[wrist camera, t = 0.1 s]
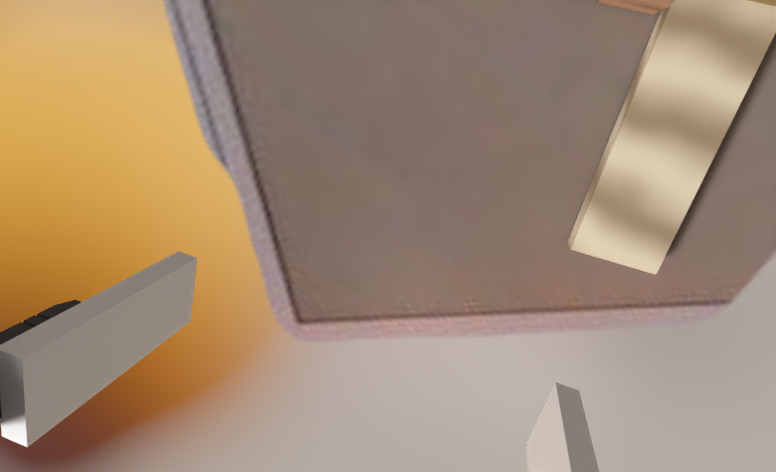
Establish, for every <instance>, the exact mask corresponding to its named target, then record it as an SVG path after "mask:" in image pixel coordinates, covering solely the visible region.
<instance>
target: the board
mask: <svg viewBox="0 0 776 472" xmlns="http://www.w3.org/2000/svg"><path fill="white" fill-rule="evenodd" d="M775 33H776V7H775V6H771V5H766V4H761V3H756V2H752V1H747V0H673V1H672V4H671V6H670V7H668V8H666V9H664V10H662V11H661V13H660V15H659V18H658V20H657V23H656V25H655V28H654V30H653V32H652V35H651V37H650V40H649V42H648V45H647V47H646V50H645V52H644V55H643V57H642V60H641V62H640V65H639V67H638V69H637V72H636V74H635V77H634V79H633V82H632V84H631V87H630V89H629V92H628V94H627V97H626V99H625V102H624V104H623V106H622V109H621V111H620V114H619V116H618V119H617V121H616V124H615V126H614V129H613V131H612V134H611V136H610V139H609V141H608V144H607V146H606V148H605V151H604V153H603V156H602V158H601V161H600V163H599V166H598V168H597V171H596V173H595V176H594V178H593V181H592V183H591V185H590V188H589V190H588V193H587V195H586V198H585V200H584V203H583V205H582V208H581V210H580V213H579V215H578V218H577V220H576V222H575V225H574V227H573V230H572V232H571V235H570V237H569V240H568V244H569V246H570V249H571V250H574V251H578V252H581V253H584V254H588V255H591V256H594V257H598V258H601V259H605V260H608V261H611V262H615V263H618V264H622V265H625V266H628V267H632V268H635V269H639V270H642V271H645V272H649V273H652V274H657V272H658V270H659V268H660V266H661V264H662V262H663V260H664V257H665V255H666V253H667V251H668V249H669V247H670V245H671V243H672V241H673V239H674V237H675V235H676V233H677V231H678V229H679V227H680V225H681V223H682V221H683V219H684V217H685V215H686V213H687V211H688V209H689V207H690V205H691V203H692V201H693V199H694V197H695V195H696V193H697V191H698V189H699V187H700V185H701V183H702V181H703V179H704V177H705V175H706V173H707V171H708V169H709V167H710V165H711V163H712V160H713V158H714V156H715V154H716V152H717V150H718V148H719V146H720V144H721V142H722V140H723V138H724V136H725V134H726V132H727V130H728V128H729V126H730V124H731V122H732V120H733V118H734V116H735V114H736V112H737V110H738V108H739V106H740V104H741V102H742V100H743V98H744V96H745V94H746V92H747V90H748V88H749V86H750V84H751V82H752V80H753V78H754V76H755V74H756V72H757V70H758V68H759V66H760V63H761V61H762V59H763V57H764V55H765V53H766V51H767V49H768V47H769V45H770V43H771V41H772V39H773V37H774V35H775Z"/></svg>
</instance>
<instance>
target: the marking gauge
mask: <svg viewBox="0 0 776 472" xmlns="http://www.w3.org/2000/svg"><path fill="white" fill-rule="evenodd" d="M672 1H673V0H598V3H601V4H606V5H610V6H615V7H619V8H624V9H629V10H633V11H638V12H642V13H647V14H651V15H653V14H655V13H657V12H659V11H662V10H664V9H666V8H668V7H670V6H671V4H672ZM747 1H752V2H756V3H761V4H766V5H771V6H775V7H776V0H747Z"/></svg>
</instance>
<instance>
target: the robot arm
mask: <svg viewBox="0 0 776 472" xmlns="http://www.w3.org/2000/svg"><path fill="white" fill-rule="evenodd" d="M196 263H197V258H196V257H193V256H190V255H187V254H184V253H182V252H176V253H175V254H173V255H171V256H169V257H167V258H165V259H163V260H161V261H159V262H157V263H156V264H154V265H152V266H150V267H148V268H146V269H144V270H142V271H141V272H138V273H136V274H135V275H133V276H131V277H129V278H127V279H125V280H123V281H121V282H119V283H118V284H115V285H114V286H112V287H110V288H108V289H106V290H104V291H102V292H101V293H98V294H96V295H95V296H93V297H91V298H89V299H87V300H85V301H83V302H80V301H77V300H74V301H69V302H65V303H62V304H58V305H54V306H52V307H50V308H48V309H46V310H44V311H42V312H40V313H38V315H37V316H32V317H30V318H28V319H26V320H24V322H23V323H18V324H16V325H14V326H12V327H10V328H8V329H6V330H4V331H2V332H0V419H1V431H2V436H3V437H5V438H7V439H9V440H12V441H14V442H17V443H19V444H21V445H23V446H26V447H28V446H29V445H31V444H32V443H33V442H35V441H36V440H37V439H38V438H40V437H41V436H42V435H43V434H45V433H46V432H48V431H49V430H50V429H51V428H53V427H54V426H55V425H57V424H58V423H59V422H61V421H62V420H63V419H64V418H66V417H67V416H68V415H69V414H71V413H72V412H74V411H75V410H76V409H77V408H78V407H80V406H81V405H83V404H84V403H85V402H87V401H88V400H89V399H90V398H92V397H93V396H94V395H96V394H97V393H98V392H99V391H101V390H102V389H103V388H105V387H106V386H107V385H109V384H110V383H111V382H112V381H114V380H115V379H116V378H118V377H119V376H120V375H122V374H123V373H124V372H125V371H127V370H128V369H129V368H131V367H132V366H133V365H135V364H136V363H137V362H138V361H140V360H141V359H142V358H143V357H145V356H146V355H147V354H149V353H150V352H151V351H153V350H154V349H155V348H157V347H158V346H159V345H160V344H162V343H163V342H164V341H166V340H167V339H168V338H170V337H171V336H172V335H173V334H175V333H176V332H177V331H179V330H180V329H181V328H183V327H184V326H185V325H186V324H188V323H189V322H190V321H191V312H192V302H193V292H194V283H195V282H194V281H195V273H196ZM526 450H527V465H528V472H599V470H598V465H597V461H596V457H595V453H594V450H593V446H592V441H591V437H590V433H589V429H588V425H587V422H586V417H585V413H584V409H583V405H582V401H581V397H580V393H579V390H576V389H573V388H570V387H567V386H564V385H561V384H559V383H555V385H554V387H553V389H552V391H551V393H550V395H549V397H548V400H547V402H546V404H545V406H544V408H543V410H542V412H541V414H540V417H539V419H538V421H537V423H536V425H535V427H534V429H533V432H532V434H531V436H530V438H529V440H528V442H527V445H526Z"/></svg>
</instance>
